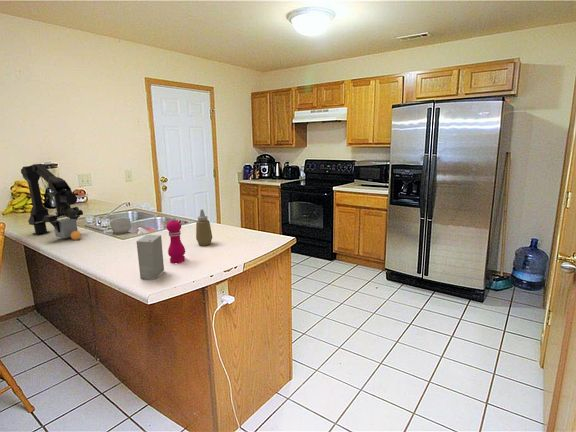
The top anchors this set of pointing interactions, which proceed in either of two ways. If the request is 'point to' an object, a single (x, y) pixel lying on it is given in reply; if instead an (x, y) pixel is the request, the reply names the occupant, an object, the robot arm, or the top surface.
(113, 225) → the teacup
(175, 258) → the pepper mill
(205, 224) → the squeeze bottle
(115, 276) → the top surface
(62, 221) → the grey block
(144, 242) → the skincare box
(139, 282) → the top surface
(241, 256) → the top surface
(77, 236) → the ball
